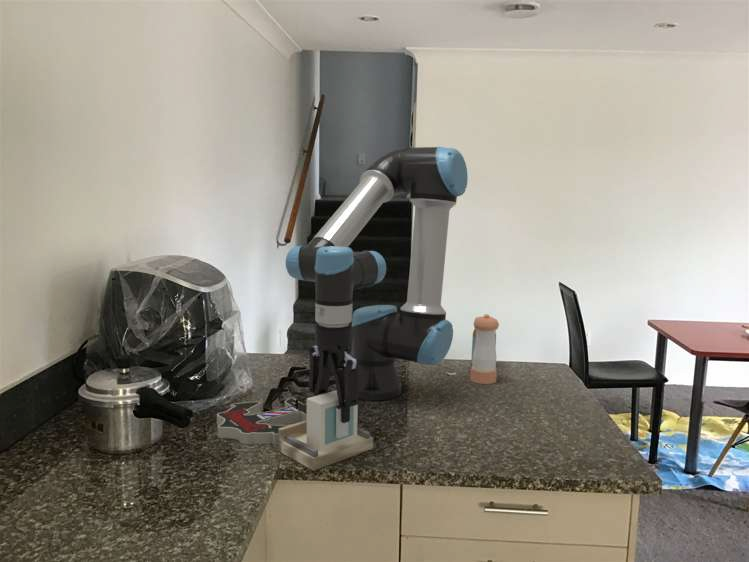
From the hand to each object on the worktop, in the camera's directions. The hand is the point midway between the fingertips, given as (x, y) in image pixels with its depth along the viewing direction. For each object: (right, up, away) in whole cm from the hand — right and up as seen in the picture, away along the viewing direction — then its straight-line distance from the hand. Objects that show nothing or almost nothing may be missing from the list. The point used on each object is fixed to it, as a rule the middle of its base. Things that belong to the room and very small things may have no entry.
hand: (332, 431), depth 139 cm
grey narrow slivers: (+42, +5, +64) cm, 76 cm away
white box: (0, -2, 0) cm, 2 cm away
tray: (-1, -5, +2) cm, 5 cm away
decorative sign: (-14, -2, +17) cm, 22 cm away
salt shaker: (+40, +3, +51) cm, 65 cm away
